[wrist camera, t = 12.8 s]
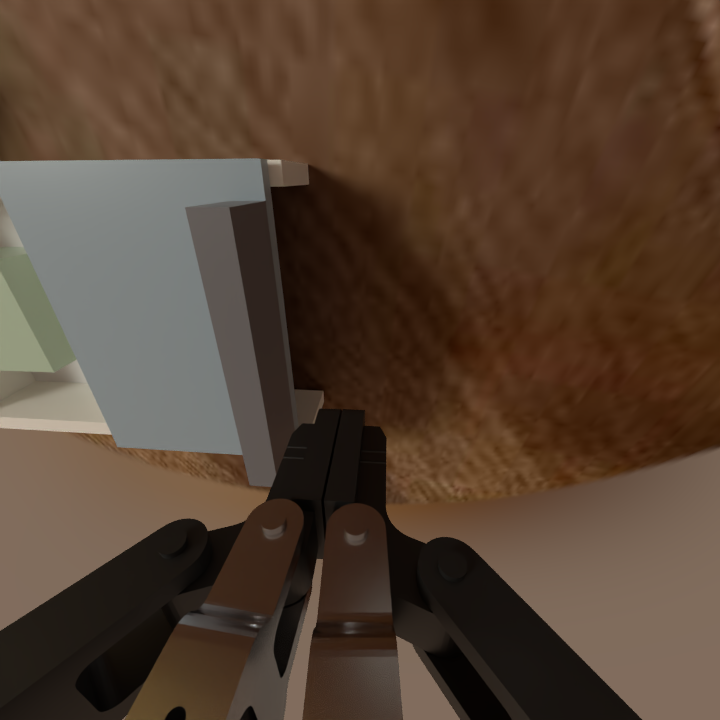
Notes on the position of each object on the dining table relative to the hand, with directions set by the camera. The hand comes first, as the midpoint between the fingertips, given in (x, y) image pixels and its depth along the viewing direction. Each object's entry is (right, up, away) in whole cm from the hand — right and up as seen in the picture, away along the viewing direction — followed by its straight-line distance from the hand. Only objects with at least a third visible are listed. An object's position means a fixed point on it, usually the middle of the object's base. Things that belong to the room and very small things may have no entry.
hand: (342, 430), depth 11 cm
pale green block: (-21, +7, +12) cm, 25 cm away
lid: (-9, +4, +7) cm, 12 cm away
